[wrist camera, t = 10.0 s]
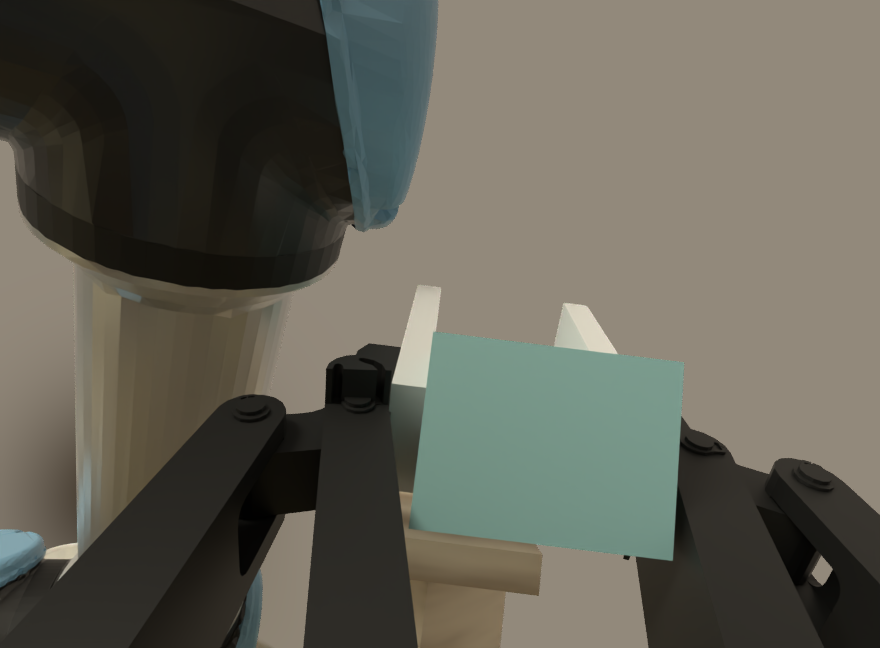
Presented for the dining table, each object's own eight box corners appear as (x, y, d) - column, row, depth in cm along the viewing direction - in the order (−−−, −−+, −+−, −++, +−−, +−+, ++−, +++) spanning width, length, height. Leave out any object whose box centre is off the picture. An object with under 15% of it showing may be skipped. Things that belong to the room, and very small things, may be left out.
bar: (672, 560, 8) (684, 362, 8) (408, 528, 8) (433, 331, 8) (485, 429, 33) (490, 383, 34) (424, 422, 33) (430, 376, 34)
